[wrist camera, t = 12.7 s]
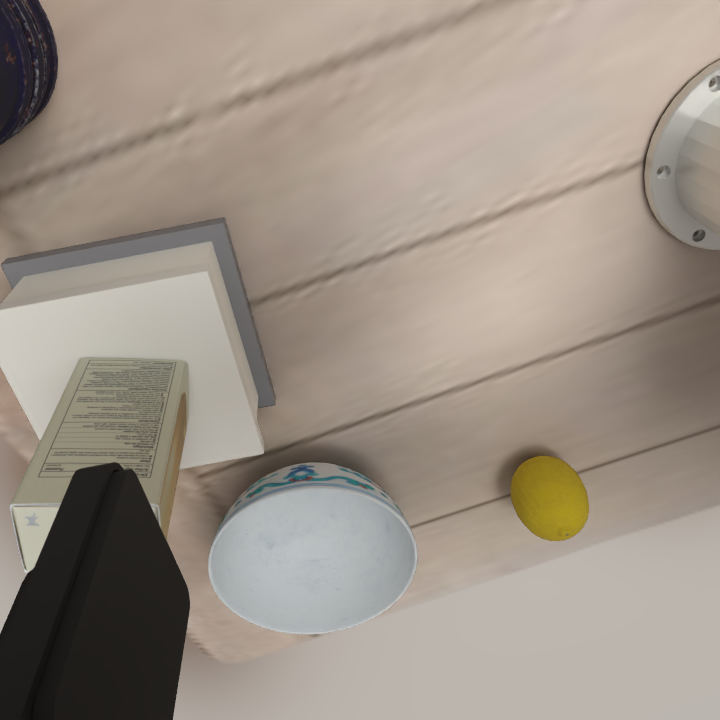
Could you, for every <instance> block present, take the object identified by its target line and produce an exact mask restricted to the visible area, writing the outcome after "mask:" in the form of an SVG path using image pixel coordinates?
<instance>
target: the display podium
mask: <svg viewBox="0 0 720 720" xmlns="http://www.w3.org/2000/svg"><path fill="white" fill-rule="evenodd" d="M1 267H2V269H3V271H4V273H5V275H6V277H7V279H8V281H9V283H10V285H11V287H12V289H13V290H12V291H11V292H10V293H9V295H8V296H7V297H6V298H5V299H4V301H3V302H2V303H0V367H1V369H2V371H3V373H4V374H5V376H6V378H7V380H8V382H9V384H10V386H11V387H12V389H13V391H14V393H15V395H16V397H17V399H18V401H19V402H20V404H21V406H22V408H23V410H24V412H25V414H26V416H27V417H28V419H29V421H30V423H31V425H32V427H33V429H34V430H35V432H36V434H37V436H38V438H39V440H40V441H41V439H42V436H43V434H44V432H45V430H46V428H47V426H48V424H49V422H50V420H51V418H52V415H53V413H54V411H55V409H56V407H57V405H58V403H59V401H60V399H61V396H62V394H63V392H64V390H65V388H66V386H67V384H68V382H69V380H70V377H71V375H72V373H73V371H74V369H75V367H76V365H77V363H78V361H79V359H81V358H125V359H156V360H175V361H185V362H187V364H188V372H189V419H188V425H187V430H186V435H185V441H184V446H183V452H182V458H181V463H180V468H179V469H185V468H190V467H196V466H201V465H206V464H212V463H217V462H222V461H228V460H233V459H239V458H244V457H249V456H255V455H260V454H264V441H263V438H262V434H261V431H260V428H259V425H258V421H257V408H262V407H268V406H273V405H275V394H274V390H273V387H272V383H271V380H270V376H269V373H268V369H267V366H266V362H265V358H264V355H263V351H262V348H261V344H260V341H259V337H258V334H257V330H256V327H255V323H254V320H253V316H252V312H251V309H250V305H249V302H248V298H247V295H246V291H245V288H244V284H243V281H242V277H241V273H240V270H239V266H238V263H237V259H236V256H235V252H234V249H233V245H232V242H231V238H230V234H229V231H228V227H227V224H226V220H225V218H219V219H214V220H209V221H203V222H198V223H193V224H188V225H182V226H177V227H172V228H166V229H161V230H156V231H151V232H145V233H140V234H135V235H129V236H124V237H119V238H114V239H108V240H103V241H98V242H92V243H87V244H82V245H77V246H71V247H66V248H61V249H55V250H50V251H45V252H40V253H34V254H29V255H24V256H18V257H13V258H8V259H6V260H5V261H4V262H3V263H2V264H1Z"/></svg>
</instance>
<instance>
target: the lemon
mask: <svg viewBox="0 0 720 720" xmlns="http://www.w3.org/2000/svg"><path fill="white" fill-rule="evenodd" d="M511 499H512V503H513V506H514V508H515V511H516V513H517V515H518V517H519V518H520V520H521V521H522V522H523V524H524V525H525V526H526V527H527V528H528V529H529V530H530V531H531V532H532V533H533V534H535V535H537V536H538V537H540V538H542V539H546V540H550V541H561V540H566V539H569V538H571V537H573V536H574V535H576V534H577V533H578V532H579V531H580V530H581V529H582V528H583V526H584V525H585V523H586V521H587V518H588V513H589V503H588V497H587V492H586V489H585V487H584V484H583V483H582V481H581V479H580V477H579V475H578V474H577V473H576V471H575V470H574V469H573V468H571V467H570V466H569V465H568V464H567V463H566V462H564V461H562V460H560V459H558V458H556V457H551V456H537V457H533V458H531V459H528V460H527V461H525V462H524V463H522V464H521V465H520V466H519V467H518V468H517V470H516V472H515V473H514V475H513V478H512V482H511Z"/></svg>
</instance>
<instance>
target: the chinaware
mask: <svg viewBox="0 0 720 720" xmlns="http://www.w3.org/2000/svg"><path fill="white" fill-rule="evenodd" d="M416 566H417V546H416V542H415V538H414V535H413V533H412V531H411V528H410V526H409V524H408V522H407V521H406V519H405V517H404V515H403V514H402V512H401V510H400V509H399V508H398V506H397V505H396V503H395V502H394V501H393V500H392V498H391V497H390V496H389V495H388V494H387V493H386V492H385V491H384V490H383V489H382V488H381V487H380V486H378V485H377V484H376V483H375V482H373V481H372V480H371V479H369V478H367V477H366V476H364V475H362V474H360V473H359V472H356V471H354V470H352V469H349V468H346V467H343V466H340V465H335V464H330V463H319V462H309V463H301V464H295V465H291V466H287V467H284V468H281V469H278V470H276V471H274V472H272V473H270V474H268V475H266V476H264V477H262V478H261V479H259V480H258V481H256V482H255V483H254V484H252V485H251V486H250V487H249V488H248V489H247V490H245V491H244V492H243V493H242V494H241V495H240V497H239V498H238V499H237V500H236V501H235V502H234V504H233V505H232V506H231V508H230V509H229V510H228V512H227V514H226V515H225V517H224V518H223V520H222V522H221V524H220V526H219V528H218V530H217V532H216V535H215V537H214V539H213V542H212V545H211V548H210V552H209V558H208V573H209V578H210V581H211V584H212V587H213V589H214V591H215V592H216V594H217V596H218V597H219V598H220V600H221V601H222V602H223V603H224V604H225V605H226V606H227V607H228V608H229V609H230V610H231V611H232V612H234V613H235V614H236V615H238V616H239V617H241V618H243V619H244V620H246V621H248V622H250V623H252V624H255V625H257V626H260V627H263V628H266V629H269V630H273V631H278V632H283V633H291V634H322V633H329V632H335V631H340V630H344V629H347V628H351V627H354V626H357V625H359V624H362V623H364V622H366V621H368V620H370V619H372V618H374V617H376V616H378V615H379V614H381V613H382V612H384V611H385V610H387V609H388V608H389V607H391V606H392V605H393V604H394V603H395V602H396V601H397V600H398V599H399V598H400V597H401V596H402V595H403V593H404V592H405V591H406V589H407V588H408V586H409V585H410V583H411V581H412V579H413V576H414V574H415V570H416Z"/></svg>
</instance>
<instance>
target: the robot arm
mask: <svg viewBox="0 0 720 720" xmlns="http://www.w3.org/2000/svg"><path fill="white" fill-rule="evenodd" d="M711 80H712V81H711ZM710 81H711V83H710ZM709 83H710V84H709ZM659 168H660V170H659V171H658V169H659ZM657 171H658V172H657ZM644 179H645V191H646V196H647V199H648V202H649V205H650V209H651V210H652V212H653V214H654V215H655V217H656V219H657V220H658V222H659V223H660V224H661V225H662V226H663V227H664V228H665V229H666V230H667V231H668V232H669V233H670V234H672V235H673V236H675V237H676V238H678V239H679V240H680V241H682V242H684V243H686V244H688V245H690V246H693V247H697V248H702V249H707V250H720V60H718V61H717V62H715V63H713V64H712V65H710V66H708V67H707V68H705V69H704V70H703V71H702V72H701V73H699V74H698V75H697V76H696V77H695V78H693V79H692V80H691V81H690V82H689V83H688V84H687V85H686V86H685V87H684V88H683V89H682V90H681V92H680V93H679V94H678V95H677V96H676V97H675V98H674V99H673V101H672V102H671V104H670V105H669V107H668V108H667V110H666V111H665V113H664V114H663V116H662V117H661V119H660V121H659V124H658V126H657V128H656V130H655V132H654V134H653V136H652V139H651V142H650V146H649V149H648V153H647V156H646V164H645V173H644ZM189 610H190V599H189V592H188V588H187V585H186V583H185V580H184V578H183V576H182V574H181V572H180V569H179V567H178V565H177V563H176V561H175V558H174V556H173V554H172V552H171V550H170V547H169V545H168V543H167V541H166V538H165V536H164V534H163V532H162V530H161V527H160V525H159V523H158V521H157V519H156V516H155V514H154V512H153V510H152V507H151V505H150V503H149V501H148V499H147V496H146V494H145V492H144V490H143V488H142V485H141V483H140V481H139V479H138V476H137V475H136V473H135V472H134V471H133V470H132V469H128V470H124V469H123V468H122V466H121V465H120V464H119V463H116V462H112V463H107V464H102V465H96V466H91V467H86V468H80V469H78V470H76V471H75V473H74V474H73V476H72V479H71V481H70V483H69V486H68V488H67V490H66V493H65V495H64V498H63V500H62V502H61V505H60V507H59V510H58V512H57V514H56V517H55V519H54V521H53V524H52V526H51V529H50V531H49V533H48V536H47V538H46V540H45V543H44V545H43V548H42V550H41V552H40V555H39V557H38V560H37V562H36V564H35V567H34V568H33V569H32V570H31V571H30V572H28V574H27V576H26V577H25V579H24V581H23V582H22V585H21V587H20V589H19V592H18V594H17V596H16V599H15V601H14V604H13V606H12V608H11V610H10V613H9V615H8V618H7V620H6V622H5V624H4V627H3V629H2V631H1V634H0V720H173V713H174V708H175V700H176V694H177V687H178V681H179V675H180V669H181V662H182V655H183V649H184V643H185V636H186V630H187V623H188V617H189Z"/></svg>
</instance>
